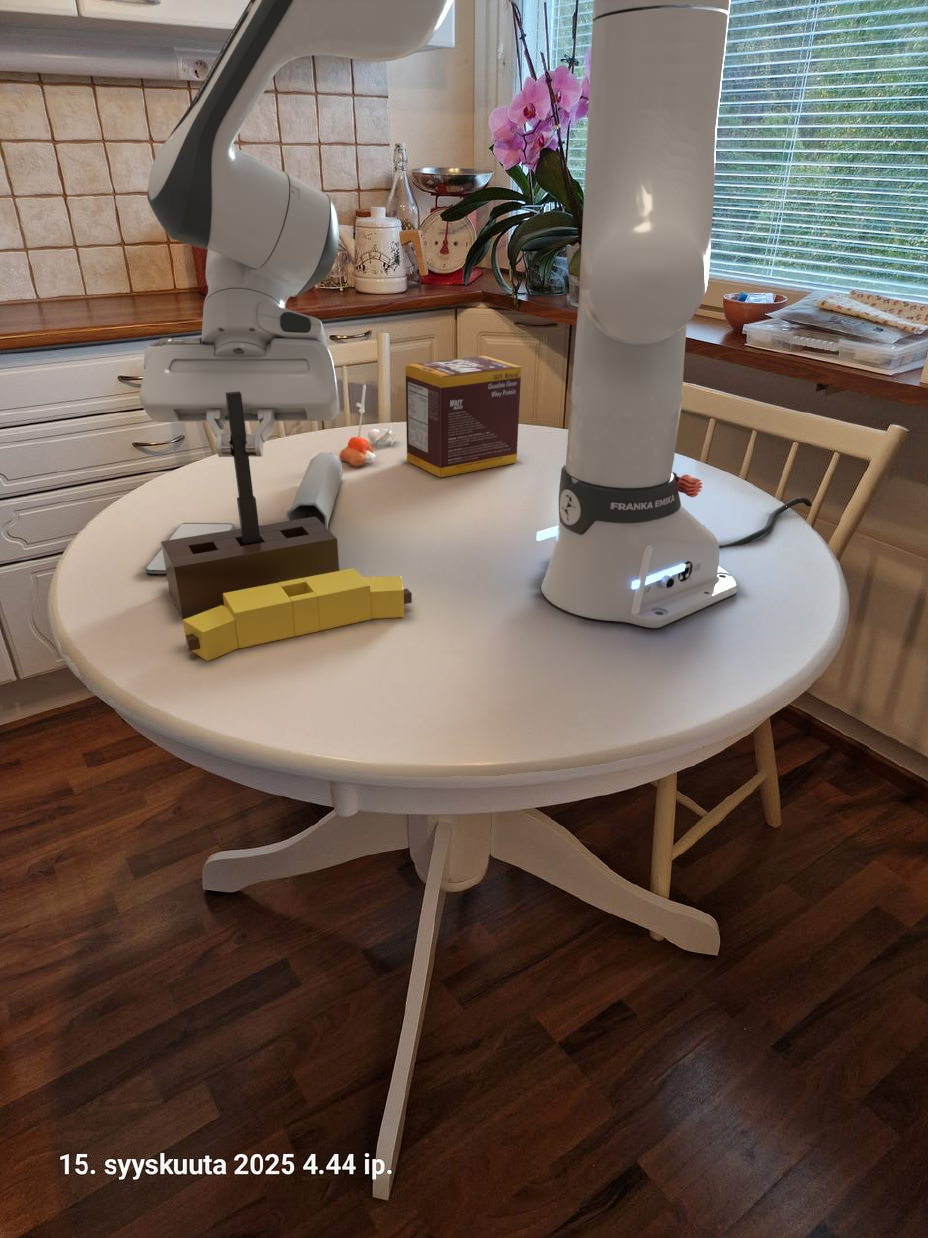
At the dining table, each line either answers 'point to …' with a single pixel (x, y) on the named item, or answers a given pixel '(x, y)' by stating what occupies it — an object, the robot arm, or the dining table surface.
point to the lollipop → (358, 444)
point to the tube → (317, 489)
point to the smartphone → (184, 531)
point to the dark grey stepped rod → (242, 470)
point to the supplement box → (462, 414)
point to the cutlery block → (245, 561)
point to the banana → (293, 610)
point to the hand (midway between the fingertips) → (239, 454)
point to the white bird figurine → (380, 435)
